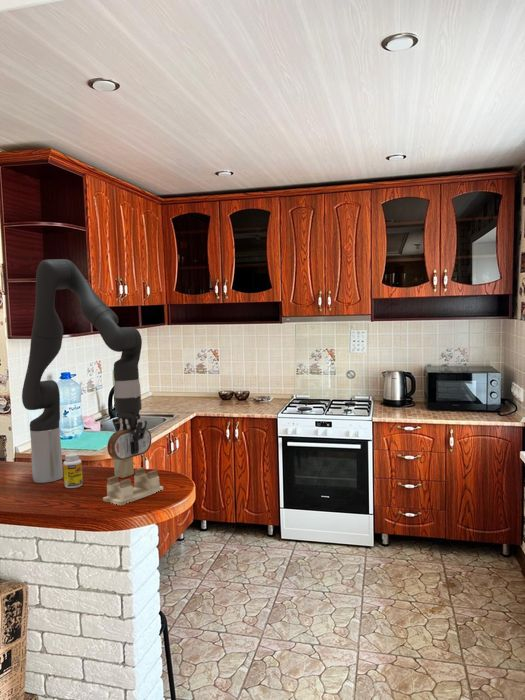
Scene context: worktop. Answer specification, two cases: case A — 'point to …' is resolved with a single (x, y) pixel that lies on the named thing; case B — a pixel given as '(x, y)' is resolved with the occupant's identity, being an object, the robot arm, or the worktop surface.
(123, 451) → the tin
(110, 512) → the worktop surface
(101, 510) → the worktop surface
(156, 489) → the cradle
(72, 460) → the supplement bottle
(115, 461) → the box
